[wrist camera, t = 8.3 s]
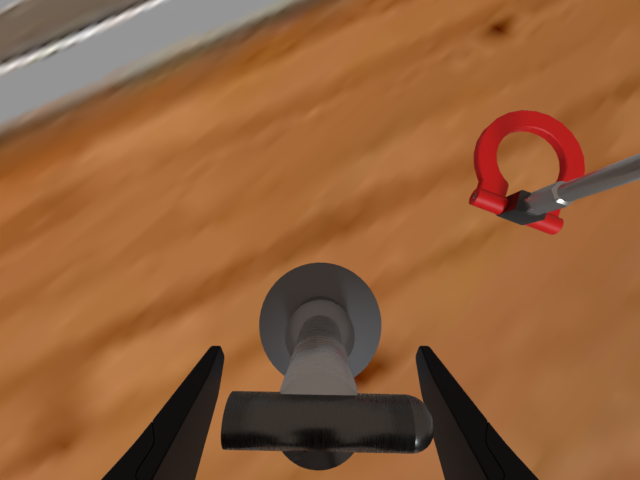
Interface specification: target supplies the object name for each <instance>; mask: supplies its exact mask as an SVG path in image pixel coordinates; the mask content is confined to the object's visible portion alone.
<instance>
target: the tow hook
mask: <svg viewBox="0 0 640 480" xmlns="http://www.w3.org/2000/svg"><path fill="white" fill-rule="evenodd" d="M514 132H530V133H533V134H536V135H538V136H540V137H542V138H543V139H545V140H546V141H547V142H548V143H549V144H550V145H551V146H552V147H553V149H554V151H555V152H556V154H557V157H558V160H559V168H560V170H559V175H558V179H557V181H556V182H555V183H553V184H551V185H549V186H546V187H544V188H541V189H539V190H537V191H534V192H532V193H530V192H527V191H525V190H520V191H518V192H516V193H514V194H511V195H509V196H507V197H506V194H507V190H508V187H509V185H508V182H507V181H506V180H505V179H504V177H503V175H502V174H501V172H500V170H499V167H498V164H497V151H498V147H499V144H500V143H501V141H502V139H503V138H504V137H505V136H506V135H509V134H511V133H514ZM474 169H475V172H476V176H477V179H478V181H479V182H478V185H477V188H476V189H475V190H474V191H473V192H472V194H471V196H470V198H469V204H470V205H472V206H475V207H478V208H480V209H483V210H486V211H488V212H491V213H494V214H496V216H498V217H501V218H503V219H506V220H509V221H511V222H514V223H517V224H519V225H526V226H529V227H531V228H534V229H537V230H539V231H542V232H545V233H547V234H550V235H554V234H557V233H558V232H559V231H560V230H561V229H562V227H563V224H564V221H563V219H562V218H559V214H560V210H561V208H565V207H567V206H569V205H570V204H572V203H573V202H574V201H575V200H577V199H580V198H583V197H587V196H590V195H593V194H596V193H599V192H603V191H606V190H609V189H612V188H615V187H618V186H622V185H625V184H628V183H631V182H634V181H638V180H640V153H639V154H636V155H634V156H631V157H629V158H626V159H624V160H621V161H619V162H616V163H613V164H611V165H608V166H606V167H603V168H601V169H598V170H596V171H593V172H591V173H588V174H586V175H584V174H585V161H584V155H583V152H582V150H581V147H580V144H579V142H578V141H577V139H576V138H575V136H574V135H573V133H572V132H571V131H570V130H569V129H568V128H567V127H566V126H565V125H564V124H563V123H561V122H560V121H558V120H556V119H555V118H553V117H551V116H550V115H547V114H544V113H540V112H537V111H528V110H520V111H514V112H509V113H507V114H505V115H503V116H501V117H498V118H497V119H496V120H495V121H493V122H492V123H491V124H490V125H489V126H488V127H487V128H486V129H485V130H483V132H482V134H481V135H480V137H479V138H478V140H477V142H476V146H475V150H474Z"/></svg>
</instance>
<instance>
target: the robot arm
mask: <svg viewBox="0 0 640 480" xmlns="http://www.w3.org/2000/svg"><path fill="white" fill-rule="evenodd" d="M223 365H224V353H223V351H222V348H221V346H211V347H210V348H209V349H208V350H207V352H206V353H205V354H204V355H203V357H202V358H201V359H200V360H199V362H198V363H197V364H196V366H195V367H194V368H193V369H192V371H191V372H190V373H189V374H188V376H187V377H186V378H185V380H184V381H183V382H182V383H181V385H180V386H179V387H178V388H177V390H176V391H175V392H174V394H173V395H172V396H171V397H170V399H169V400H168V401H167V402H166V404H165V405H164V406H163V408H162V409H161V410H160V411H159V413H158V414H157V415H156V416H155V418H154V419H153V421H152V422H151V423H150V424H149V425H148V427H147V428H146V429H145V430H144V432H143V433H142V434H141V435H140V436H139V438H138V439H137V440H136V441H135V443H134V444H133V445H132V446H131V447H130V448H129V449H128V450H127V452H126V453H125V454H124V455H123V456H122V457H121V458H120V459H119V460H118V462H117V463H116V464H115V465H114V466H113V467H112V468H111V469H110V470H109V471H108V472H107V474H106V475H105V476H104V477H103V478H102V479H101V480H195V478H196V475H197V471H198V468H199V464H200V460H201V457H202V453H203V449H204V446H205V442H206V439H207V435H208V431H209V428H210V424H211V421H212V417H213V413H214V410H215V406H216V402H217V399H218V395H219V389H220V383H221V377H222V371H223ZM416 365H417V371H418V377H419V383H420V389H421V395H422V399H423V402H424V404H425V405H426V406H427V408H428V409H429V411H430V413H431V415H432V417H433V421H434V436H433V439H434V442H435V446H436V449H437V453H438V457H439V460H440V464H441V468H442V471H443V475H444V478H445V480H539V479H538V478H537V477H536V476H535V475H534V474H533V472H532V471H531V470H530V469H529V468H528V467H527V466H526V465H525V464H524V463H523V462H522V460H521V459H520V458H519V457H518V456H517V455H516V454H515V453H514V452H513V450H512V449H511V448H510V447H509V446H508V445H507V444H506V443H505V441H504V440H503V439H502V438H501V436H500V435H499V434H498V433H497V432H496V430H495V429H494V428H493V427H492V425H491V424H490V423H489V422H488V421H487V419H486V418H485V416H484V415H483V414H482V413H481V411H480V410H479V409H478V408H477V406H476V405H475V404H474V402H473V401H472V400H471V399H470V397H469V396H468V395H467V394H466V392H465V391H464V390H463V388H462V387H461V386H460V385H459V383H458V382H457V381H456V380H455V378H454V377H453V376H452V374H451V373H450V372H449V371H448V369H447V368H446V367H445V366H444V364H443V363H442V362H441V360H440V359H439V358H438V357H437V355H436V354H435V353H434V352H433V350H432V349H431V348H430V347H429V346H419V348H418V351H417V353H416Z"/></svg>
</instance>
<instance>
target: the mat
mask: <svg viewBox="0 0 640 480" xmlns="http://www.w3.org/2000/svg"><path fill="white" fill-rule="evenodd" d="M317 296H323V297H328V298H331V299H333V300H335V301H337V302H338V303H339V304H340V305H342V307H343V308H344V309H345V311H346V312H347V314H348V316H349V318H350V319H351V322H352V324H353V327H354V332H355V342H354V347H353V350H352V352H351V354H350V356H349V357H348V360H349V363H350V367H351V370H352V373H353V377H356V376H357V375H358V374H359V373H361V372H362V371H363V370H364V369H365V368H366V366H367V365H368V364H369V362H370V361H371V360H372V358H373V356H374V354H375V352H376V350H377V347H378V345H379V341H380V337H381V314H380V309H379V306H378V303H377V300H376V298H375V296H374V294H373V293H372V291H371V289H370V288H369V287H368V285H367V284H366V283H365V282H364V281H363V280H362V279H361V278H360V277H359V276H358V275H356V274H355V273H354V272H352V271H350V270H348V269H346V268H344V267H342V266H339V265H336V264H331V263H319V262H317V263H309V264H305V265H301V266H299V267H296V268H294V269H292V270H290V271H289V272H287V273H286V274H284V275H283V276H282V277H281V278H280V279H278V280H277V281H276V282H275V284H274V285H273V286H272V287H271V289H270V290H269V292H268V294H267V295H266V297H265V300H264V302H263V305H262V308H261V312H260V318H259V331H260V338H261V343H262V346H263V348H264V351H265V353H266V355H267V357H268V359H269V360H270V362H271V363H272V364H273V366H274V367H275V368H276V369H277V370H278V371H279V372H280V373H281V374H283V375H284V376H285V374H286V371H287V368H288V365H289V362H290V359H291V356H290V354H289V352H288V350H287V347H286V343H285V331H286V326H287V324H288V321H289V319H290V317H291V316H292V314H293V313H294V311H295V310H296V308H297V307H298V306H299V305H300V304H301V303H302V302H303V301H305V300H307V299H309V298H312V297H317Z"/></svg>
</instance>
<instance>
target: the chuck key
mask: <svg viewBox="0 0 640 480" xmlns="http://www.w3.org/2000/svg"><path fill="white" fill-rule="evenodd" d="M354 342H355V332H354V327H353V324H352V322H351V319H350V318H349V316H348V314H347V312H346V311H345V309H344V308H343V307H342V305H340V304H339V303H338V302H337V301H335V300H333V299H331V298H328V297H323V296H317V297H312V298H309V299H307V300H305V301H303V302H302V303H301V304H300V305H299V306H298V307H297V308H296V310H295V311H294V313H293V314H292V316H291V317H290V319H289V321H288V324H287V326H286V331H285V343H286V347H287V350H288V352H289V354H290V356H291V359H290V362H289V365H288V368H287V371H286V374H285V377H284V380H283V382H282V385H281V388H280V391H279V392H263V391H232V392H231V393H230V395H229V397H228V399H227V402H226V405H225V409H224V413H223V418H222V425H221V446H222V449H223V450H250V451H282V452H283V454H284V455H285V456H286V457H287V458H288V459H289V460H290V461H292V462H293V463H294V464H296V465H298V466H300V467H302V468H305V469H309V470H316V471H320V470H328V469H332V468H335V467H337V466H339V465H341V464H342V463H344V462H345V461H347V460H348V459H349V458H350V457H351V456H352V455H353V453H397V454H415V453H419V452H422V451H423V450H425V449H426V448H427V447H428V446H429V445H430V443H431V441H432V439H433V436H434V421H433V417H432V415H431V413H430V411H429V409H428V408H427V406H426V405H425V404H424V403H423V402H422V401H421V400H419V399H418V398H416V397H414V396H411V395H407V394H367V393H358V390H357V387H356V383H355V380H354V377H353V373H352V370H351V367H350V363H349V360H348V357H349V356H350V354H351V352H352V350H353V347H354Z"/></svg>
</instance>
